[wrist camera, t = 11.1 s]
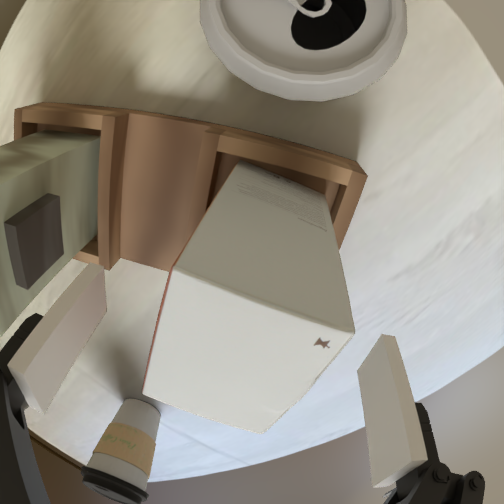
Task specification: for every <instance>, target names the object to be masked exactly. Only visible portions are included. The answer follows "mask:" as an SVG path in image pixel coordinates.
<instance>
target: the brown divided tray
mask: <svg viewBox="0 0 504 504" xmlns="http://www.w3.org/2000/svg"><path fill="white" fill-rule="evenodd" d="M239 160H243V161H245V162H248V163H250V164H253V165H255V166H257V167H260V168H262V169H265V170H267V171H270V172H272V173H274V174H277V175H279V176H282V177H284V178H287V179H289V180H292V181H294V182H296V183H299V184H301V185H303V186H305V187H308V188H310V189H313V190H315V191H317V192H319V193H322V194H324V195H325V196H326V200H327V204H328V208H329V212H330V216H331V220H332V224H333V228H334V232H335V237H336V241H337V245H338V249H340V247H341V244H342V242H343V240H344V237H345V235H346V232H347V230H348V227H349V224H350V222H351V219H352V217H353V214H354V212H355V209H356V206H357V204H358V201H359V198H360V196H361V193H362V190H363V188H364V185H365V182H366V179H367V177H368V176H367V174H366V173H365V172H364V170H363V169H362V168H361V167H360V165H359V164H358V163H357V162H356V161H353V160H350V159H347V158H344V157H340V156H337V155H334V154H331V153H328V152H324V151H321V150H318V149H314V148H311V147H308V146H304V145H301V144H297V143H293V142H290V141H286V140H282V139H278V138H275V137H271V136H267V135H263V134H259V133H254V132H250V131H246V130H242V129H237V128H233V127H228V126H223V125H219V124H214V123H209V122H204V121H198V120H193V119H188V118H182V117H176V116H170V115H164V114H157V113H151V112H144V111H136V110H129V109H120V108H112V107H102V106H91V105H79V104H64V103H44V102H42V103H37V104H33V105H29V106H25V107H21V108H17V109H15V113H14V141H12V142H10V143H7V144H5V145H2V146H0V337H1V336H2V335H3V334H4V333H5V332H6V330H7V329H8V328H9V327H10V326H11V324H12V323H13V322H14V321H15V320H16V318H17V317H18V316H19V315H20V314H21V313H22V311H23V310H24V309H25V308H26V307H27V306H28V305H29V304H30V302H31V301H32V300H33V299H34V298H35V297H36V296H37V295H38V294H39V292H40V291H41V290H42V289H43V288H44V287H45V286H46V285H47V284H48V283H49V282H50V281H51V280H52V279H53V277H54V276H55V275H56V274H57V273H58V272H59V271H60V270H61V269H62V268H63V267H64V266H65V265H66V264H67V263H68V262H69V261H70V260H71V259H72V258H73V259H76V260H79V261H82V262H85V263H88V264H89V263H90V262H91V263H94V264H97V265H101V266H104V269H106V270H110V269H111V268H112V267H113V266H114V265H115V263H116V262H117V261H118V260H119V259H120V258H123V259H126V260H130V261H133V262H137V263H140V264H144V265H147V266H151V267H154V268H158V269H161V270H165V271H168V272H170V269H171V267H172V265H173V264H174V262H175V261H176V259H177V257H178V256H179V254H180V253H181V251H182V250H183V248H184V246H185V245H186V243H187V241H188V240H189V238H190V237H191V235H192V233H193V232H194V230H195V229H196V227H197V225H198V224H199V222H200V220H201V219H202V217H203V215H204V214H205V212H206V211H207V209H208V207H209V206H210V204H211V203H212V201H213V199H214V198H215V196H216V195H217V193H218V192H219V190H220V189H221V187H222V186H223V184H224V183H225V181H226V179H227V178H228V176H229V174H230V173H231V171H232V170H233V168H234V167H235V165H236V164H237V162H238V161H239Z"/></svg>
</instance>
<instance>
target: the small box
mask: <svg viewBox="0 0 504 504" xmlns="http://www.w3.org/2000/svg"><path fill="white" fill-rule="evenodd" d="M354 334H355V327H354V322H353V317H352V312H351V306H350V301H349V296H348V291H347V286H346V281H345V277H344V272H343V267H342V263H341V258H340V254H339V249H338V245H337V241H336V237H335V232H334V228H333V224H332V220H331V216H330V212H329V208H328V204H327V200H326V196H325V195H324V194H322V193H319V192H317V191H315V190H313V189H310V188H308V187H305V186H303V185H301V184H299V183H296V182H294V181H292V180H289V179H287V178H284V177H282V176H279V175H277V174H274V173H272V172H270V171H267V170H265V169H262V168H260V167H257V166H255V165H253V164H250V163H248V162H245V161H243V160H239V161H238V162H237V164H236V165H235V167H234V168H233V170H232V171H231V173H230V174H229V176H228V178H227V179H226V181H225V183H224V184H223V186H222V187H221V189H220V190H219V192H218V193H217V195H216V196H215V198H214V199H213V201H212V203H211V204H210V206H209V207H208V209H207V211H206V212H205V214H204V215H203V217H202V219H201V220H200V222H199V224H198V225H197V227H196V229H195V230H194V232H193V233H192V235H191V237H190V238H189V240H188V241H187V243H186V245H185V246H184V248H183V250H182V251H181V253H180V254H179V256H178V257H177V259H176V261H175V262H174V264H173V265H172V267H171V269H170V272H169V276H168V279H167V283H166V287H165V291H164V295H163V298H162V302H161V306H160V310H159V314H158V318H157V322H156V327H155V331H154V335H153V340H152V345H151V349H150V353H149V358H148V363H147V368H146V373H145V377H144V383H143V388H142V394H144V395H146V396H148V397H150V398H153V399H155V400H158V401H160V402H163V403H165V404H168V405H171V406H174V407H176V408H179V409H181V410H184V411H187V412H190V413H192V414H195V415H198V416H201V417H204V418H207V419H210V420H213V421H216V422H219V423H223V424H226V425H229V426H233V427H236V428H240V429H243V430H247V431H250V432H254V433H257V434H263V433H264V432H266V431H267V430H268V429H269V428H270V427H271V426H272V425H273V424H274V423H275V422H277V421H278V420H279V419H280V418H281V417H282V416H283V415H284V414H285V413H286V412H287V411H288V410H289V409H290V408H291V407H292V406H294V405H295V404H296V403H297V402H298V401H299V400H301V399H302V397H303V396H304V395H305V394H306V393H307V392H308V391H309V390H310V388H311V387H312V386H313V385H314V384H315V382H316V381H317V379H318V378H319V377H320V376H321V374H322V373H323V372H324V371H325V370H326V369H327V367H328V366H329V365H330V364H331V363H332V362H333V361H334V359H335V358H336V357H337V355H338V354H339V353H340V352H341V351H342V349H343V348H344V347H345V346H346V345H347V343H348V342H349V341H350V340H351V339H352V337H353V336H354Z"/></svg>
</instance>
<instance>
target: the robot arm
mask: <svg viewBox="0 0 504 504" xmlns="http://www.w3.org/2000/svg"><path fill="white" fill-rule="evenodd" d="M106 312H107V306H106V292H105V276H104V266H101V265H97V264H94V263H91V262H90V263H89V264H88V265H87V266H86V267H85V269H84V270H83V271H82V272H81V273H80V274H79V275H78V276H77V278H76V279H75V280H74V281H73V282H72V283H71V284H70V286H69V287H68V288H67V289H66V290H65V291H64V293H63V294H62V295H61V296H60V297H59V299H58V300H57V301H56V302H55V303H54V305H53V306H52V307H51V308H50V309H49V311H48V312H47V313H46V314H45V316H42V315H39V314H37V313H35V314H33V315H32V316H30V317H28V318H27V319H26V320H25V321H24V322H23V323H22V324H21V326H20V327H19V329H17V331H16V332H15V333H14V336H12V337H11V338H10V340H9V341H8V342H7V343H6V345H5V346H4V347H3V349H2V350H1V351H0V504H50V501H49V498H48V496H47V493H46V490H45V487H44V484H43V481H42V478H41V475H40V472H39V469H38V466H37V462H36V459H35V456H34V452H33V448H32V445H31V441H30V437H29V433H28V429H27V424H26V419H25V414H24V410H25V409H27V408H28V407H31V408H33V409H35V410H37V411H38V412H40V413H42V414H44V415H45V413H46V411H47V409H48V407H49V405H50V404H51V402H52V400H53V398H54V396H55V395H56V393H57V391H58V389H59V388H60V386H61V384H62V382H63V381H64V379H65V377H66V376H67V374H68V372H69V371H70V369H71V367H72V366H73V364H74V362H75V361H76V359H77V357H78V356H79V354H80V352H81V351H82V349H83V347H84V346H85V344H86V343H87V341H88V339H89V338H90V336H91V335H92V333H93V332H94V330H95V329H96V327H97V325H98V324H99V322H100V321H101V319H102V318H103V316H104V315H105V313H106ZM357 373H358V379H359V385H360V391H361V397H362V404H363V411H364V418H365V426H366V433H367V441H368V450H369V459H370V469H371V479H372V487H388V486H389V485H391V484H392V483H394V482H396V486H397V487H396V488H394V489H393V490H391V491H389V492H388V493H386V494H385V495H384V496H383V497H384V498H385V497H387V496H389V497H388V498H387V500H386V501H385V502H384V504H482V503H483V496H484V490H485V481H484V478H483V476H482V475H481V474H480V473H479V472H477V471H471V472H469V473H467V474H466V475H464V476H463V475H459V474H455V473H451V472H450V470H449V468H448V467H447V466H446V465H445V464H443V463H441V462H440V461H439V457H438V453H437V448H436V444H435V440H434V437H433V432H432V428H431V424H430V420H429V417H428V413H427V411H426V410H425V408H424V406H423V405H422V403H415V402H414V399H413V395H412V391H411V388H410V384H409V381H408V377H407V374H406V370H405V367H404V364H403V360H402V357H401V354H400V351H399V347H398V344H397V341H396V338H395V336H390V335H384V334H381V336H380V338H379V339H378V341H377V342H376V344H375V345H374V347H373V348H372V350H371V351H370V353H369V354H368V356H367V357H366V359H365V360H364V362H363V363H362V365H361V366H360V368H359V369H358V370H357Z"/></svg>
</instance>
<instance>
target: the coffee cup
mask: <svg viewBox="0 0 504 504" xmlns="http://www.w3.org/2000/svg"><path fill="white" fill-rule="evenodd" d="M159 422H160V413H159V412H158V410H157V409H156V408H155V407H153V406H152V405H150V404H148V403H146V402H144V401H141V400H137V399H126V400H125V401H124V402H123V404H122V405H121V407H120V409H119V410H118V412H117V414H116V415H115V417H114V419H113V421H112V422H111V423H110V424H109V425H108V427H107V429H106V430H105V432H104V434H103V435H102V437H101V439H100V441H99V442H98V444H97V446H96V448H95V449H94V451H93V455H92V457H91V459H90V460H89V462H88V464H87V466H86V467H85V466H83V467H82V471H81V474H82V476H83V484H84V485H85V486H87V487H88V488H90V489H91V490H93V491H95V492H97V493H99V494H101V495H103V496H105V497H107V498H109V499H112V500H114V501H117V502H119V503H122V504H141V502H144V501H146V500H147V498H148V496H149V495H148V494H147V493H146V492H145V490H146V486H147V481H148V479H149V476H150V471H151V466H152V461H153V456H154V451H155V446H156V443H155V441H156V436H157V431H158V427H159Z"/></svg>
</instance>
